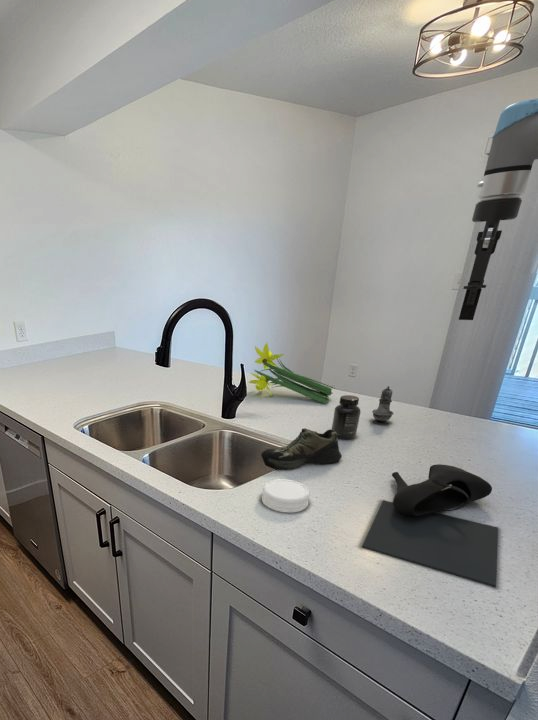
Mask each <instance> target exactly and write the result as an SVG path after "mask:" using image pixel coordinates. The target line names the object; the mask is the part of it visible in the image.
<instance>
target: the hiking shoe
mask: <svg viewBox="0 0 538 720" xmlns="http://www.w3.org/2000/svg"><path fill="white" fill-rule="evenodd" d="M338 436H340V435H338V434H337V433H336V432H335V431H334V430H331V429H327V430H326V431H324V433H319V432H317V431H315V430H312V429H309V428H302V429H301V431H300V432H299V434H298V435H297V437H295V438H294V439H293V440H292V441H290V443H288V444H287V445H286V446H281V447H276V448H266V449H265V450H263V451H262V452H261V453H260V456H261V459H262V461H263V463H264V465H265V466H266V467H268V468H269V469H270V468H271V470H281V471H283V470H284V471H286V470H294V469H297V468H300V467H301V466H303V465H305V464H314V465H332V464H336V463H337V462H339V461H340V460H341V459H342V456H343V455H342V453H341V452H340V447H339V439H338Z"/></svg>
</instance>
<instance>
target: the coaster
mask: <svg viewBox="0 0 538 720" xmlns="http://www.w3.org/2000/svg"><path fill="white" fill-rule="evenodd" d="M310 494H311V493H310V490H309V488H308V487H307V486H306V485H305V484H303V483H302V482H299V481H296V480H293V479H288V478H287V479H286V478H285V479H283V478H280V479H279V478H277V479H272V480H270V481H267V482H266V483H265V484H263V487H262V492H261V501H262V503H263V505H265V507H267V508H269V509H271V510H273V511H276V512H280V513H286V514H287V513H290V514H291V513H299V512H301V511H304V510H305V509H306V508H307V507H308V505H309V500H310Z"/></svg>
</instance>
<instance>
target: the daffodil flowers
mask: <svg viewBox="0 0 538 720" xmlns="http://www.w3.org/2000/svg"><path fill="white" fill-rule="evenodd" d="M254 349H255V352H256V354H257V355H258V356H259V358H257V359H255V360H254V363H256V364H259V365H260V364H262V365H263V369H261V370H256V369H253V371H254V372H255V373H253V372H250V374H251V375H252V376H253V377H255V378H256V379H252V380H250V381H248V382H247V383H248V384H255V385H254V388H255V389H256V391H260V392H264V390H265V389H266V390H267V391H268V393H269V394H270V396H271V397H273V395H272V392H271V390H270V387H269V386H271V389H274V388H278V387H283V388H287V389H288V390H292V391H293V392H295V393H298V394H300V395H302V396H305V397H307V398H309V399H312V400H314V401H316V402H319V403H321V404H323V405H326V404H327V403H328V401H329V400H330V396H331V395H333V393H334V392H333V390H332V389H334V390H335V389H336V387H335V386H333V385H329V384H327V383H324V382H322V381H319V380H316V379H313V378H310V377H308V376H304V375H301V374H298V373H295V372H294V371H292V370H291V369H289V368H288V367H286V365H284V363H283V362H282V360H281V359H280V358H281V357H283V356H285V354H284V353H280V354H273V352H272V351H271V350H269V349H270V348H269V344H268V342H265V344H264V346H263V349H262V350H261V349H260V348H259V347H258V346H254ZM274 360H275V361H276V360H277V362H278V364H279V366H280V367H279V366H277V364H276V363H275V362H274ZM263 371H265V372H266V371H269V372H270V373H271V374H273V375H274V376H275V377H273V376H271V375H268V374H266V373H263Z"/></svg>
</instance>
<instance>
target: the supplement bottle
mask: <svg viewBox="0 0 538 720" xmlns="http://www.w3.org/2000/svg"><path fill="white" fill-rule="evenodd" d="M359 400H360V398H359V397H358V396H355V395H348V394H347V395H341V396H340V398H339V402H338V403H339V404H338V405H336V406H335V408H334V410H333V418H332V424H331V429H330V430H334V431H335V432H336V433H337V434H338V435H340V436H338V440H340V441H341V440H342V441H350V440H351V441H352V440H354V439H356V437H357V432H358V428H359V422H360V417H361V408H360V406H358V405H359Z"/></svg>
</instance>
